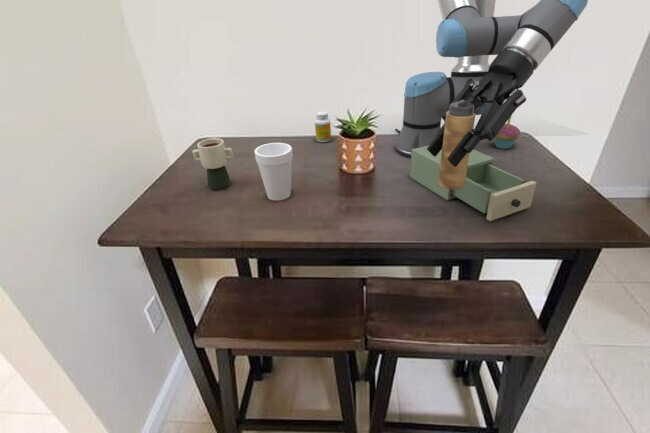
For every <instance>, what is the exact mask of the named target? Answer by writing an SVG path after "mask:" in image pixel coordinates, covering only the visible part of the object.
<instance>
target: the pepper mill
mask: <svg viewBox="0 0 650 433" xmlns="http://www.w3.org/2000/svg"><path fill="white" fill-rule="evenodd" d="M473 111H474V105H473V104H472V103H468V102H466V101H465V100H460V101H459V102H454V103H451V104H450V109H449V111H448V112H447V113H446V120H445V129H444V137H443V146H442V154H441V163H440V171H439V180H438V184H439V185H440V186H441V187H443V188H446V189H460V188H463V187H464V185H465V179H466V173H467V167H468V160H469V154H470V153H467V154H466V155H465V156H464V158H463V159H462V160H461V161H460V163H459V164H458V165H457V166H456V167H454V166H453V165H452V164H451V163H450V162H449V161H448V160H447V158H448V157H449V156H450V154H451V153H452V152H453V150H454V149H455V148H456V147H457V145H458V144H459V143H460V142H461V140H462V139H463V138H464V137H465V135H466V134H467V133H468V132H471V133H472V134H474V133H473V132H472V130H471V129H475V122H476V116H477V115H476V114H475V112H473Z"/></svg>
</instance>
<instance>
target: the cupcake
mask: <svg viewBox="0 0 650 433" xmlns="http://www.w3.org/2000/svg"><path fill="white" fill-rule="evenodd" d="M512 116H513V114H512V115H511V117H510V118H509V119H508V121H507V122H506V123H505V124H504V126H503V127H502V128H501V130H500V131H499V132H498V134H497V135H496V136H495V138H494V139H493V140H494V146H495V147H496V148H498V149H502V150H503V149H504V150H505V149H506V150H507V149H508V150H509V149H511V148H512V146H513V145H514V143H515V141H516V140H517V139H519V138H520V137H521V130H520V129H519V128H518V126H516V125H513V124H511V121H512V120H511V119H512Z"/></svg>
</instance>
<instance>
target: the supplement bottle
mask: <svg viewBox="0 0 650 433" xmlns="http://www.w3.org/2000/svg"><path fill="white" fill-rule="evenodd" d="M314 128H315V130H314V131H315V140H316V142H318V143H327V142H328V143H329V142H330V141H331V140H332V132H331V131H332V128H331V119H330V118H329V112H328V111H323V110H322V111H317V112H316V119H315V121H314Z"/></svg>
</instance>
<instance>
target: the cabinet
mask: <svg viewBox="0 0 650 433" xmlns="http://www.w3.org/2000/svg"><path fill="white" fill-rule="evenodd" d="M428 146H429V145H428ZM428 146H424V147H420V148H416V149H412V154H411V157H410V167H409V168H410V169H409V178H411V179H412V180H414V181H416V182H417V183H418V184H421V185H422V186H423V187H425V188H427V189H428V190H430V191H431V192H433V193H435V194H436V195H438V196H440V197H441V198H443V199H444V200H446V201H450V200H454V199H458V198H457V197H456V196H454V195H452V194H451V190H452V189H446V188H443V187H441V186H440V185H439V184H438V180H439V171H440V163H441V154H442V149H441V150H440V152H439V153H438V154H437V156H436V157H435V156H433V155H432V154H431V153H430V152H429V151H428V150H427V148H428ZM487 163H488V164H491V165H493V166H494V163H495V157H492V156H490V155H487V154H486V153H483V152H480V151H479V150H477V149H475V148H474V149H473V150H472V152H470V154H469V160H468V167H467V169H470V168H473V167H477V166H480V165H484V164H487Z"/></svg>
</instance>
